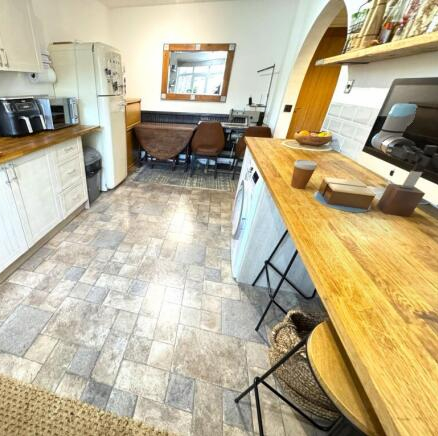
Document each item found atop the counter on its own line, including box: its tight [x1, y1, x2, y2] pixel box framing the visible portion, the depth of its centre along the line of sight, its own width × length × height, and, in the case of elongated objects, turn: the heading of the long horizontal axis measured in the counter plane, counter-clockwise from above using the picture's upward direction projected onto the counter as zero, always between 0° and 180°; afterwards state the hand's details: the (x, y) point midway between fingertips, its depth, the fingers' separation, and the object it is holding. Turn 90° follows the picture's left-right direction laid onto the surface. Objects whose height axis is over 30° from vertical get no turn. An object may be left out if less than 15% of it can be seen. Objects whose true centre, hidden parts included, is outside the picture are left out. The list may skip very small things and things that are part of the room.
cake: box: [313, 176, 377, 214], centre depth 101 cm, size 20×20×8 cm
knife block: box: [376, 183, 426, 218], centre depth 93 cm, size 8×7×10 cm
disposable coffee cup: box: [290, 159, 318, 190], centre depth 113 cm, size 10×10×12 cm
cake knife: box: [401, 144, 438, 189], centre depth 88 cm, size 3×2×21 cm, turn 71°
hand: (434, 163), depth 80 cm, fingers closed on cake knife, 2 cm apart
